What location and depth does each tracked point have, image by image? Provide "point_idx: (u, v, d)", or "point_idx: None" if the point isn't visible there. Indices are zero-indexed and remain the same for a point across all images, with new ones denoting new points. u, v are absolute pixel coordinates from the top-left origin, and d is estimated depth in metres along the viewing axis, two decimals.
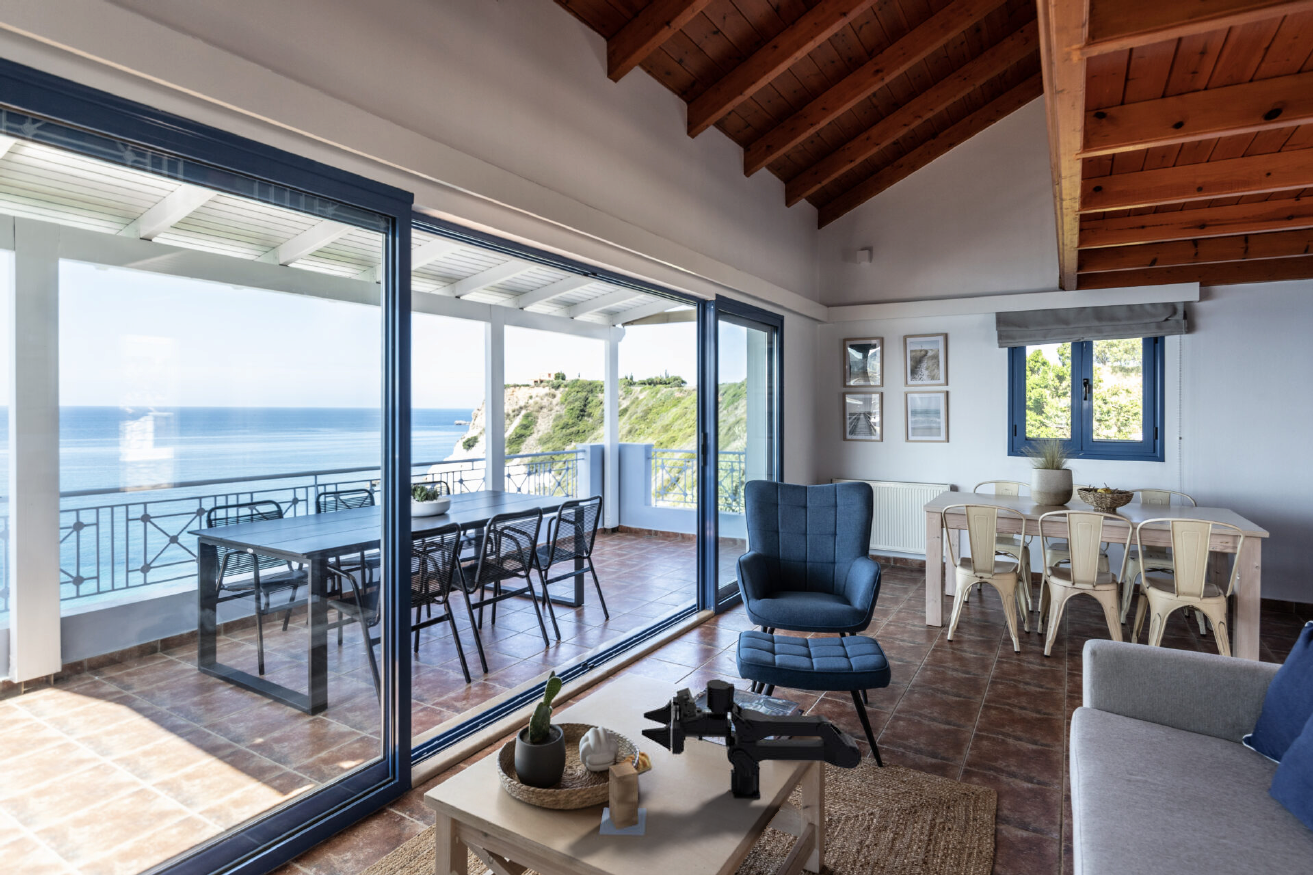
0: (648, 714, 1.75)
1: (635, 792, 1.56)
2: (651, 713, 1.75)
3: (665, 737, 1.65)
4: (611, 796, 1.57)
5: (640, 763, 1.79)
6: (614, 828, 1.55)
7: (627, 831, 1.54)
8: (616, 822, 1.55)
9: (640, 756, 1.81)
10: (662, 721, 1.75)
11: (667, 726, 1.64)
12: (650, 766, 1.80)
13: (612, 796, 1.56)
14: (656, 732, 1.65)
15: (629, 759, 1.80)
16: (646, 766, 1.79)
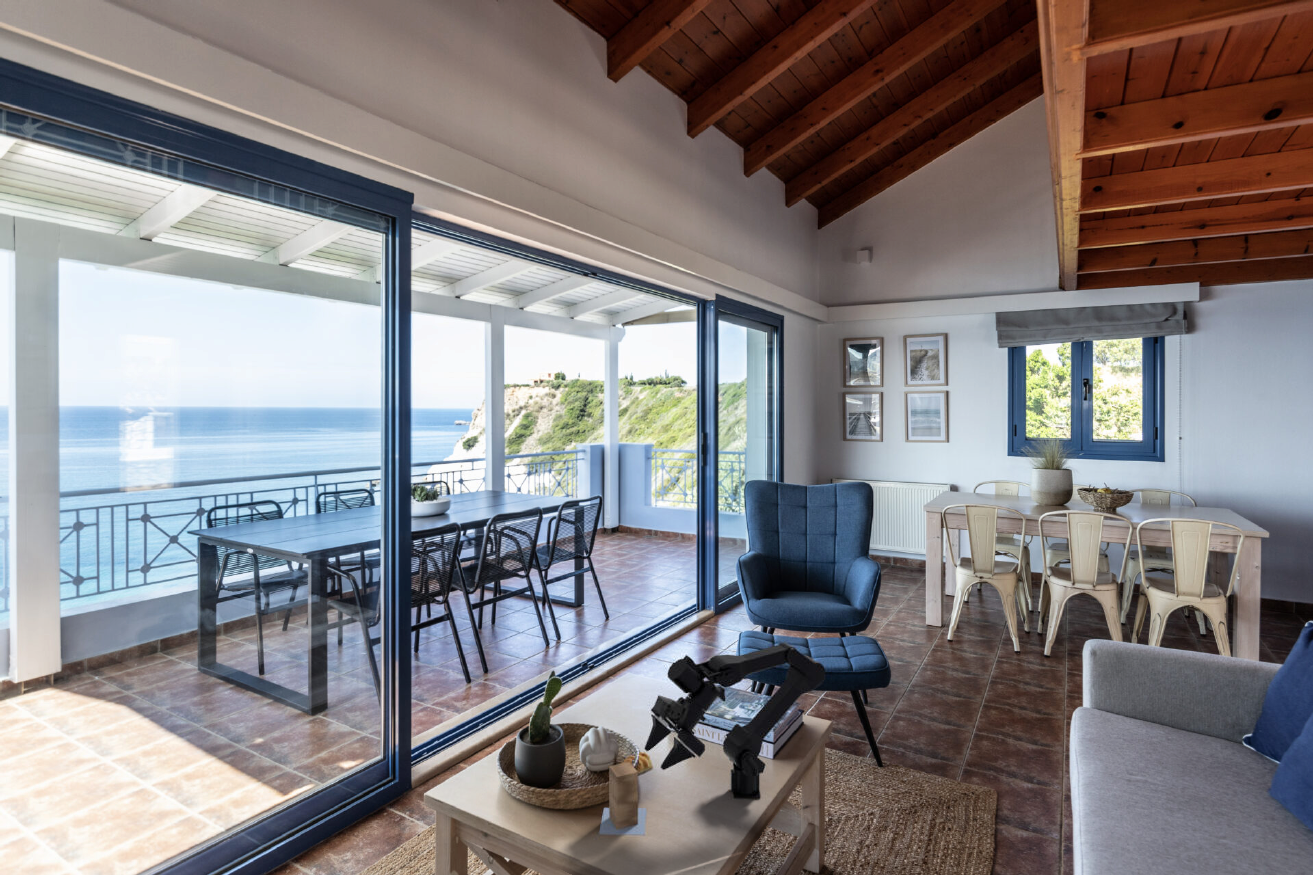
0: (648, 745, 1.64)
1: (635, 792, 1.56)
2: (650, 742, 1.64)
3: (681, 751, 1.56)
4: (611, 796, 1.57)
5: (641, 763, 1.78)
6: (614, 828, 1.55)
7: (627, 831, 1.54)
8: (616, 822, 1.55)
9: (641, 756, 1.81)
10: (662, 736, 1.66)
11: (676, 743, 1.55)
12: (651, 766, 1.80)
13: (612, 796, 1.56)
14: (672, 756, 1.55)
15: (630, 759, 1.80)
16: (647, 766, 1.79)
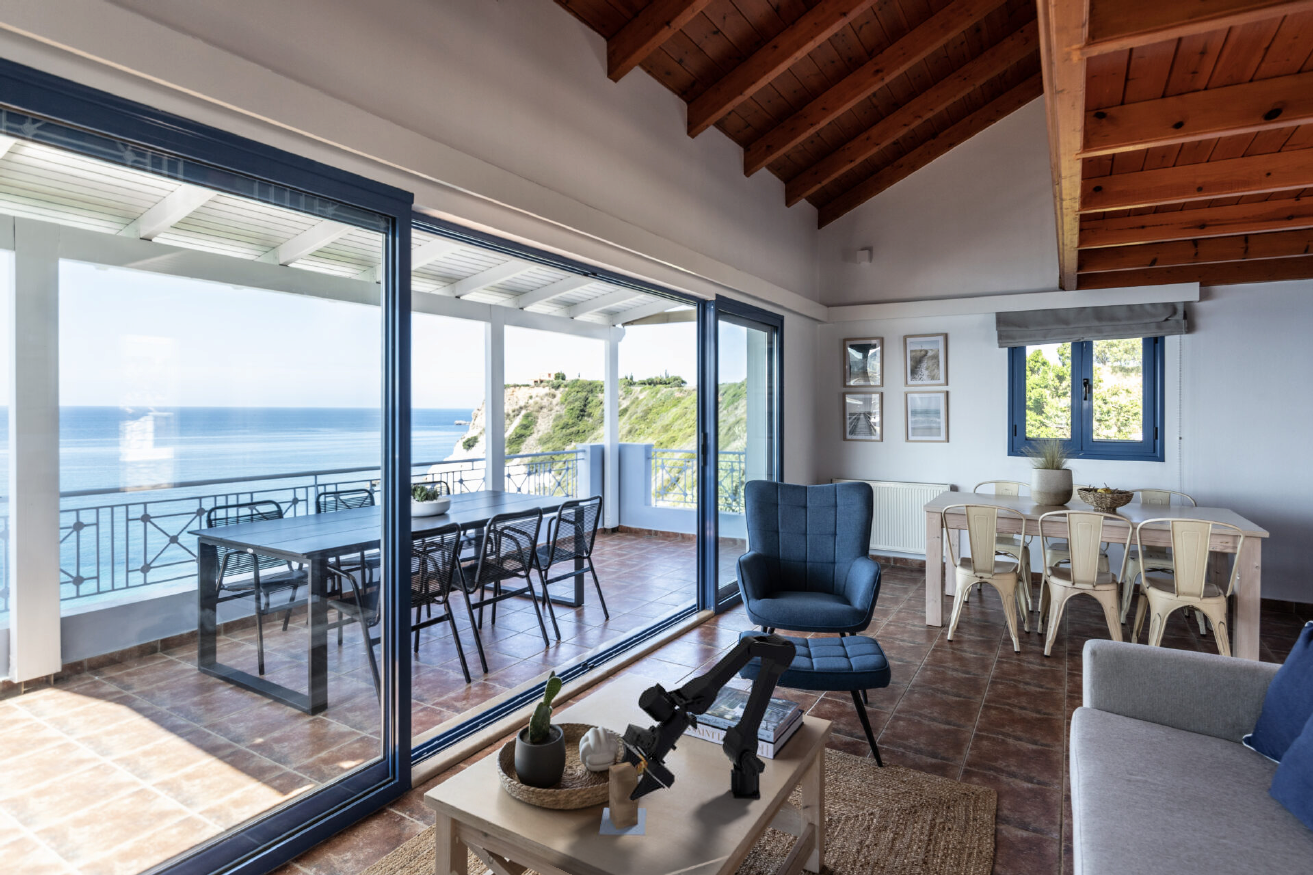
0: None
1: None
2: None
3: (651, 782, 1.54)
4: (611, 796, 1.57)
5: (642, 763, 1.78)
6: (614, 828, 1.55)
7: (627, 831, 1.54)
8: (616, 822, 1.55)
9: None
10: (633, 765, 1.63)
11: (645, 774, 1.52)
12: None
13: (612, 796, 1.56)
14: (641, 787, 1.53)
15: None
16: None
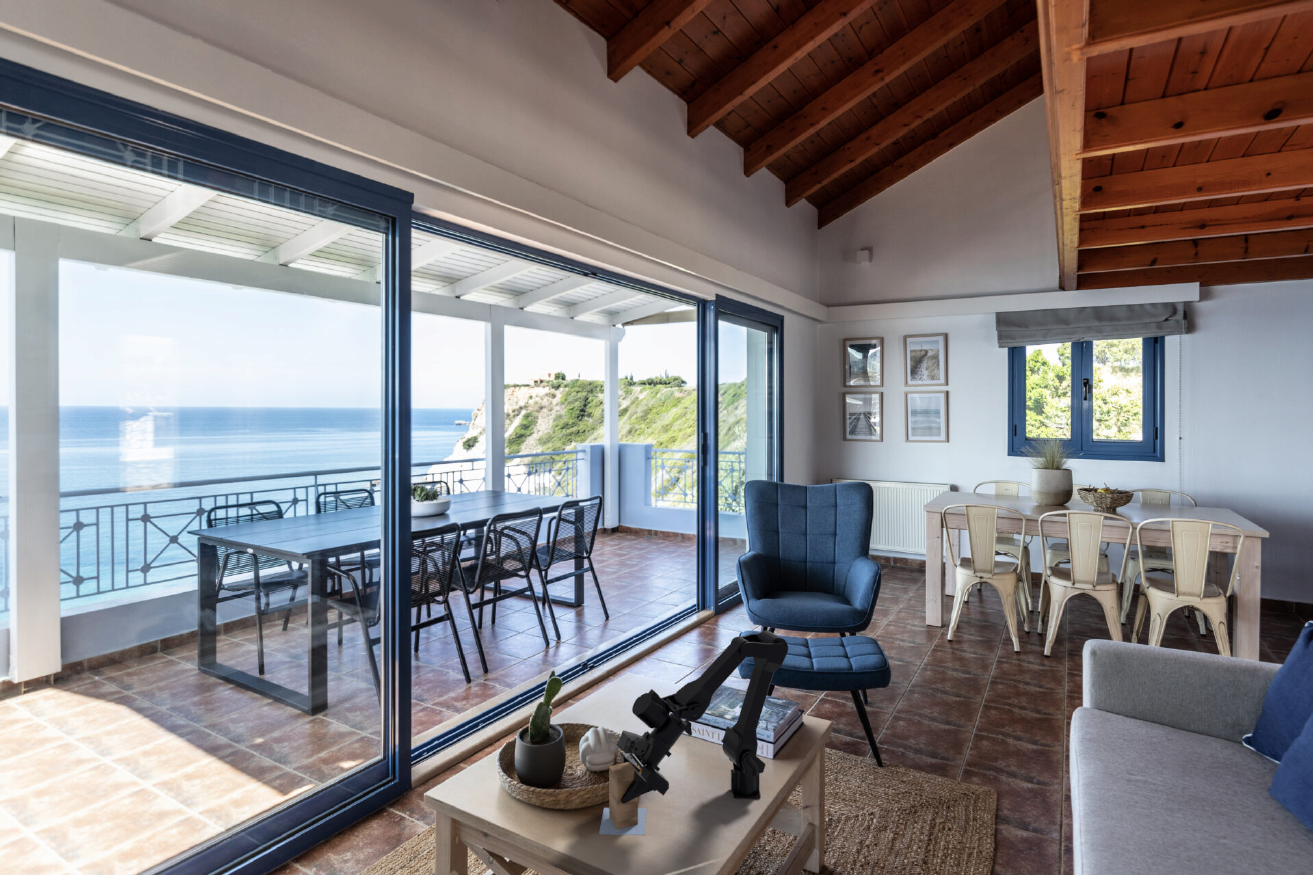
0: None
1: None
2: None
3: (642, 784, 1.55)
4: (611, 796, 1.57)
5: None
6: (614, 828, 1.55)
7: (627, 831, 1.54)
8: (616, 822, 1.55)
9: None
10: None
11: (636, 776, 1.53)
12: None
13: (612, 796, 1.56)
14: (632, 789, 1.54)
15: None
16: None
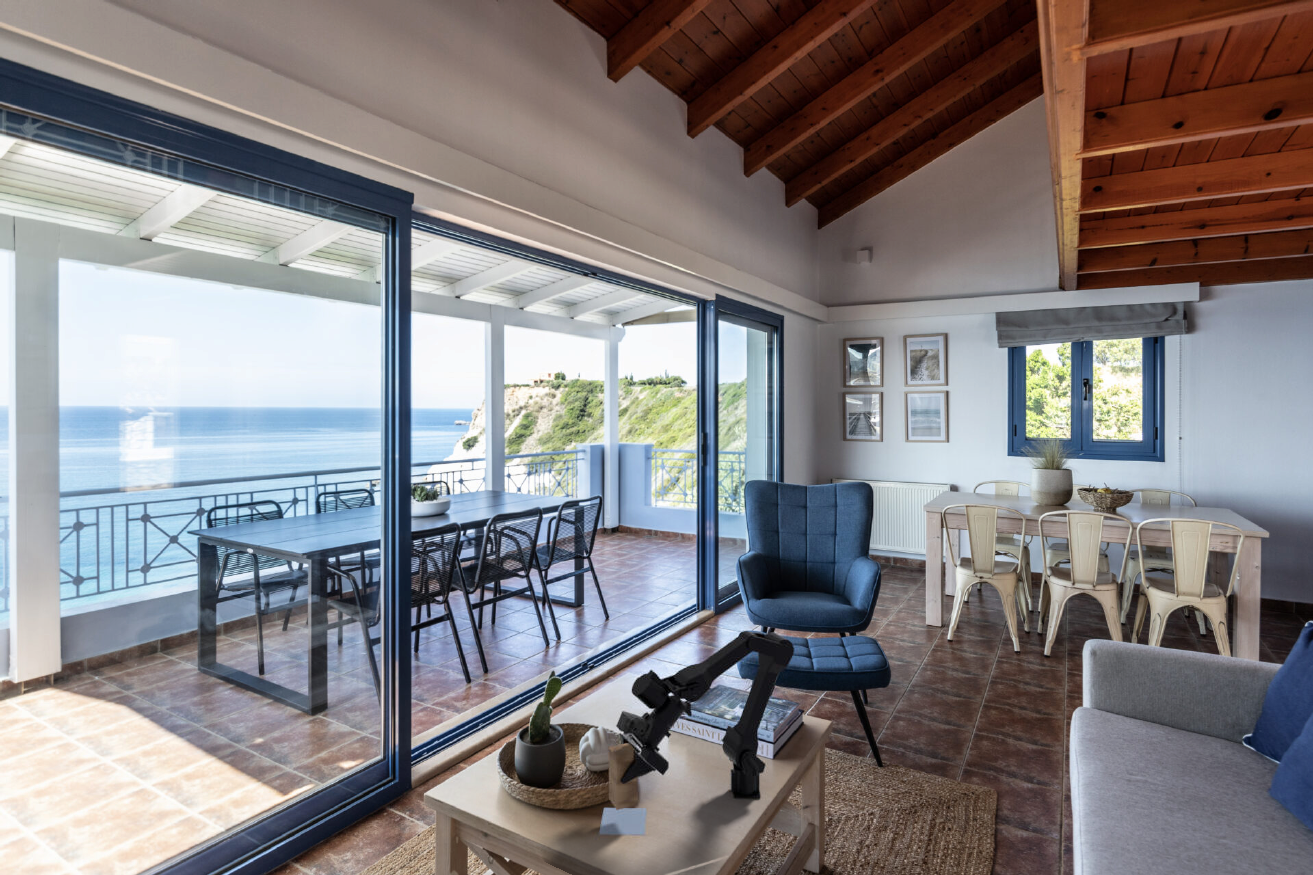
0: None
1: None
2: None
3: (641, 765, 1.55)
4: (610, 776, 1.57)
5: None
6: (614, 828, 1.55)
7: (627, 831, 1.54)
8: (616, 802, 1.54)
9: None
10: None
11: (635, 756, 1.53)
12: None
13: (612, 777, 1.56)
14: (632, 769, 1.54)
15: None
16: None
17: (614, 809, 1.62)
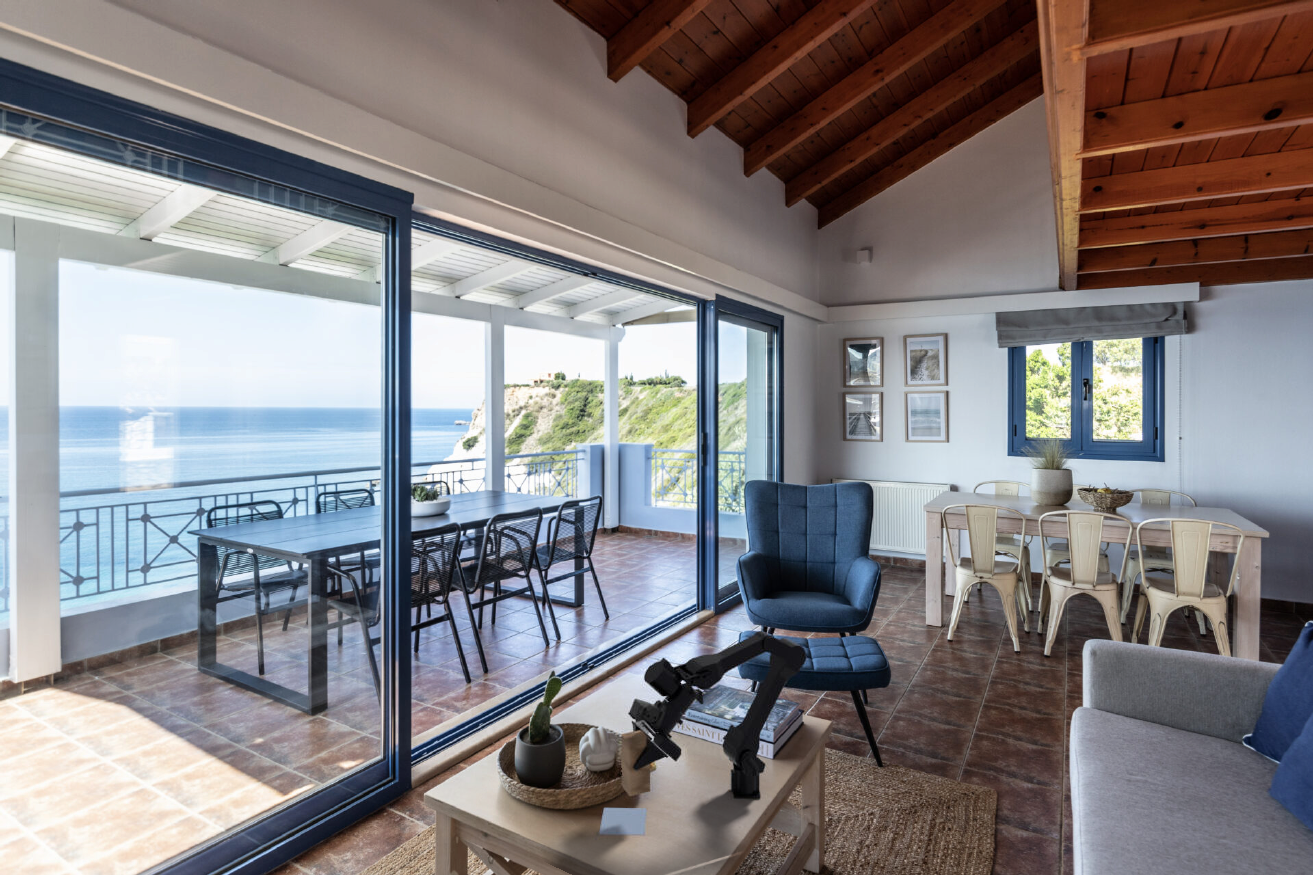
0: None
1: None
2: None
3: (654, 751, 1.56)
4: (623, 763, 1.58)
5: None
6: (614, 828, 1.55)
7: (627, 831, 1.54)
8: (628, 789, 1.56)
9: None
10: None
11: (648, 743, 1.54)
12: (655, 766, 1.80)
13: (625, 763, 1.57)
14: (645, 756, 1.55)
15: None
16: (651, 767, 1.79)
17: (614, 809, 1.62)
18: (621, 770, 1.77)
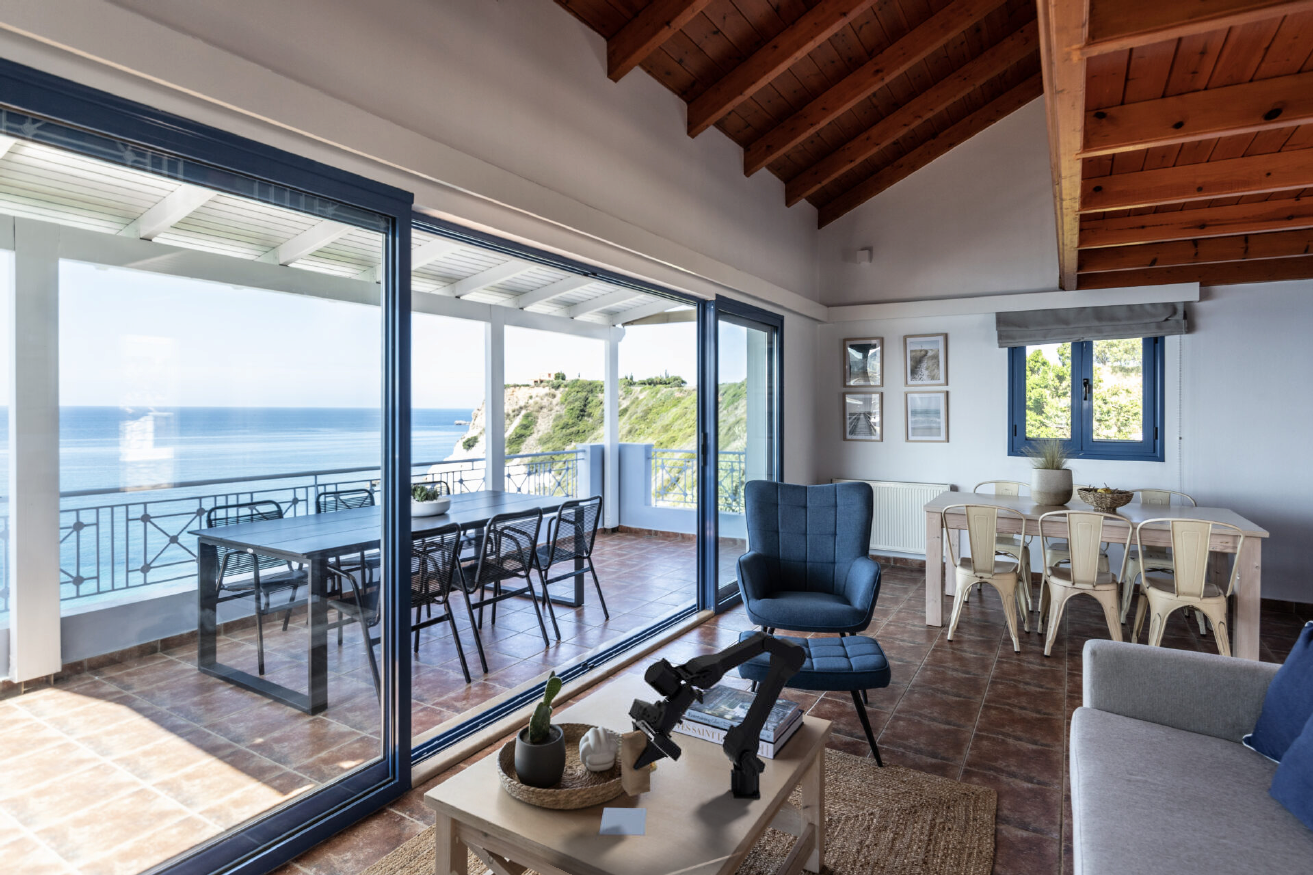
0: None
1: None
2: None
3: (654, 751, 1.56)
4: (623, 763, 1.58)
5: None
6: (614, 828, 1.55)
7: (627, 831, 1.54)
8: (628, 789, 1.56)
9: None
10: None
11: (648, 743, 1.54)
12: (655, 766, 1.80)
13: (625, 763, 1.57)
14: (645, 756, 1.55)
15: None
16: (651, 767, 1.79)
17: (614, 809, 1.62)
18: None
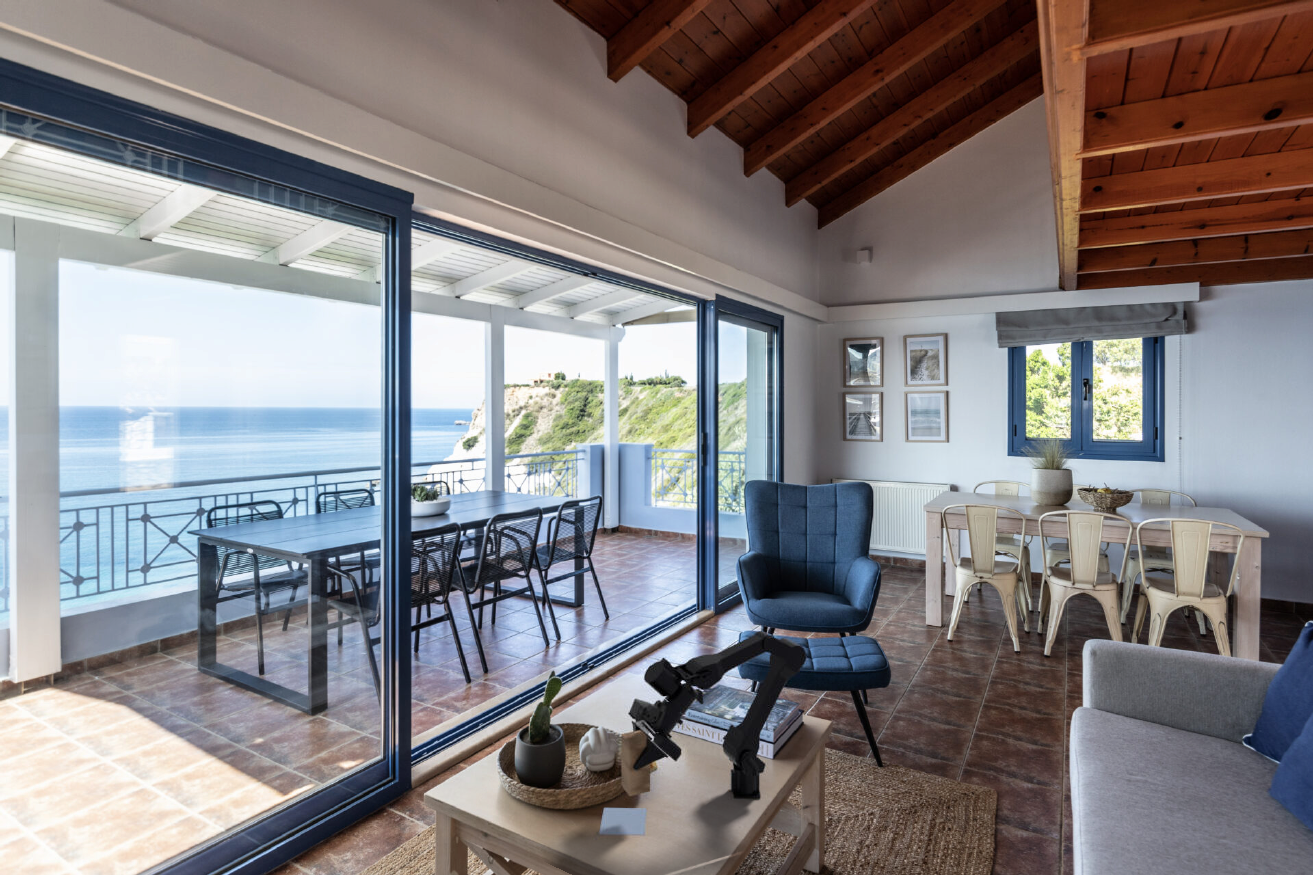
0: None
1: None
2: None
3: (654, 751, 1.56)
4: (623, 763, 1.58)
5: None
6: (614, 828, 1.55)
7: (627, 831, 1.54)
8: (628, 789, 1.56)
9: None
10: None
11: (648, 743, 1.54)
12: (656, 766, 1.80)
13: (625, 763, 1.57)
14: (645, 756, 1.55)
15: None
16: (652, 767, 1.79)
17: (614, 809, 1.62)
18: None
